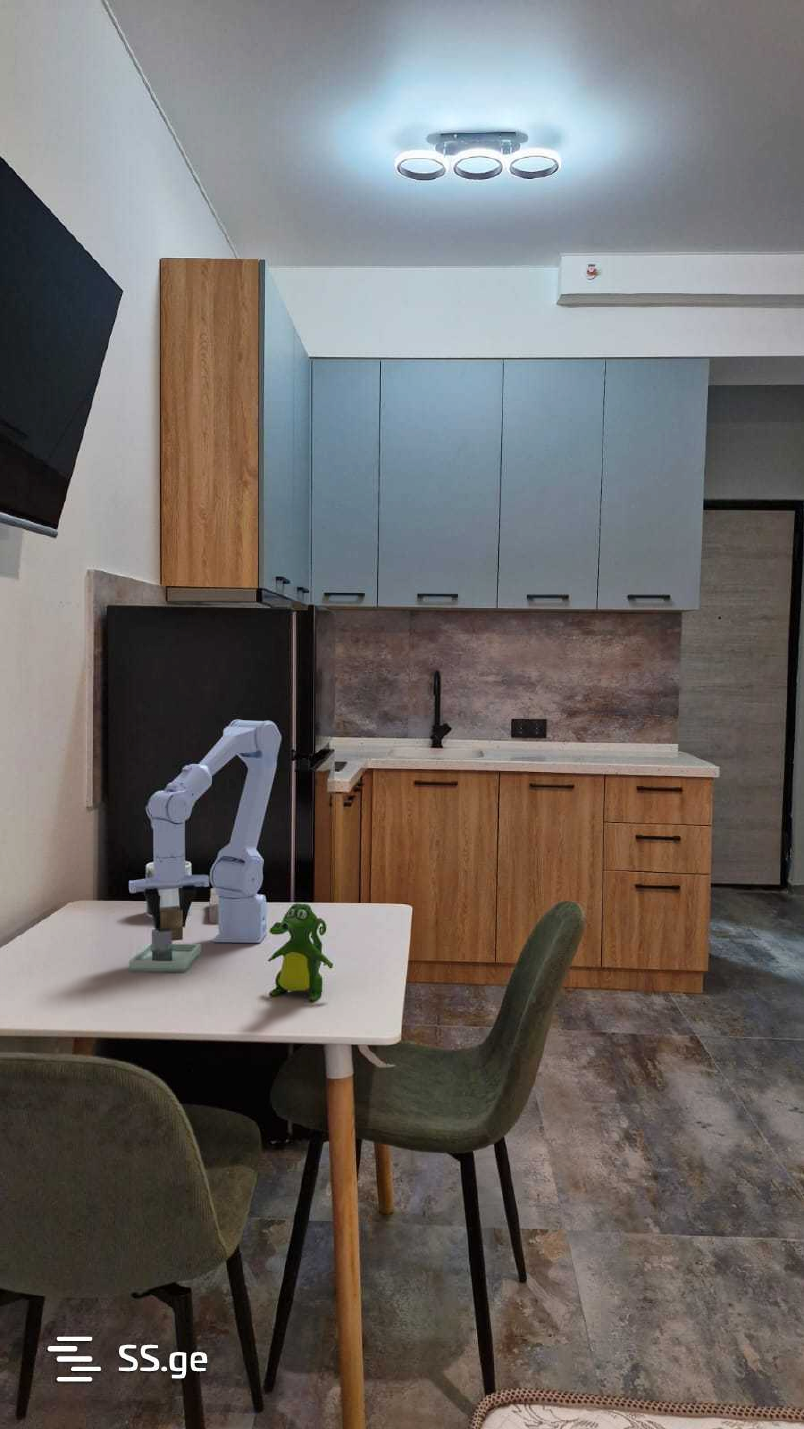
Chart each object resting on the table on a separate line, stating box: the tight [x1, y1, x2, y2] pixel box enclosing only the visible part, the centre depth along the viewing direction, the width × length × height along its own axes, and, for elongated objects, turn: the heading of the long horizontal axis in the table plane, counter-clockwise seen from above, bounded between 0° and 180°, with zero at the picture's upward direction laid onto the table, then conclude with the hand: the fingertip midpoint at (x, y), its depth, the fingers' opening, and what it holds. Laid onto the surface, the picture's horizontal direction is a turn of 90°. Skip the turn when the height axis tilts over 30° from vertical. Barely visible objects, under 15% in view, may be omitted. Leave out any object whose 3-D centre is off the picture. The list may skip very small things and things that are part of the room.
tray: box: [128, 942, 202, 973], centre depth 186 cm, size 10×12×2 cm
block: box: [160, 906, 184, 942], centre depth 188 cm, size 4×4×6 cm
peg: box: [151, 928, 173, 961], centre depth 183 cm, size 4×4×6 cm
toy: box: [267, 902, 334, 1002], centre depth 168 cm, size 12×19×15 cm, turn 160°
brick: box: [208, 887, 218, 924], centre depth 223 cm, size 17×8×5 cm, turn 10°
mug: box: [145, 860, 193, 919], centre depth 221 cm, size 10×12×11 cm
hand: (169, 927), depth 188 cm, fingers closed on block, 4 cm apart
